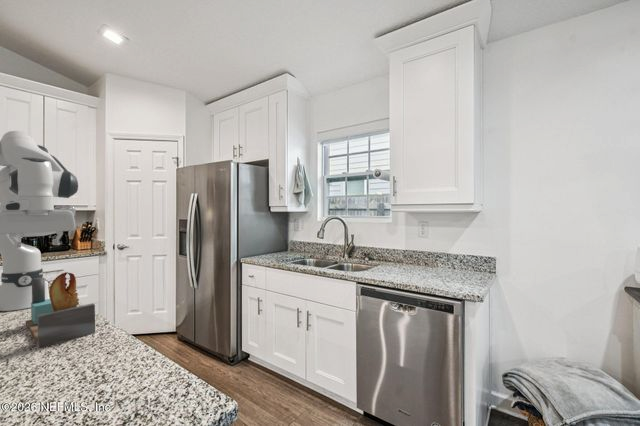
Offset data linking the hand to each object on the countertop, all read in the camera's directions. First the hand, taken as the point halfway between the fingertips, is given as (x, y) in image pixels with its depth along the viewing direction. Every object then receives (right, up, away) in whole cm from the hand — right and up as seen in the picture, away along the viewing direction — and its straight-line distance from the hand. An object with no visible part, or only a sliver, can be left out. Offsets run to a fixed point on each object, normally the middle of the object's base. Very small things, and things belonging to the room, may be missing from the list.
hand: (37, 245), depth 100 cm
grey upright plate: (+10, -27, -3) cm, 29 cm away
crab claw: (+17, -27, -8) cm, 33 cm away
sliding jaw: (+4, -25, +2) cm, 26 cm away
